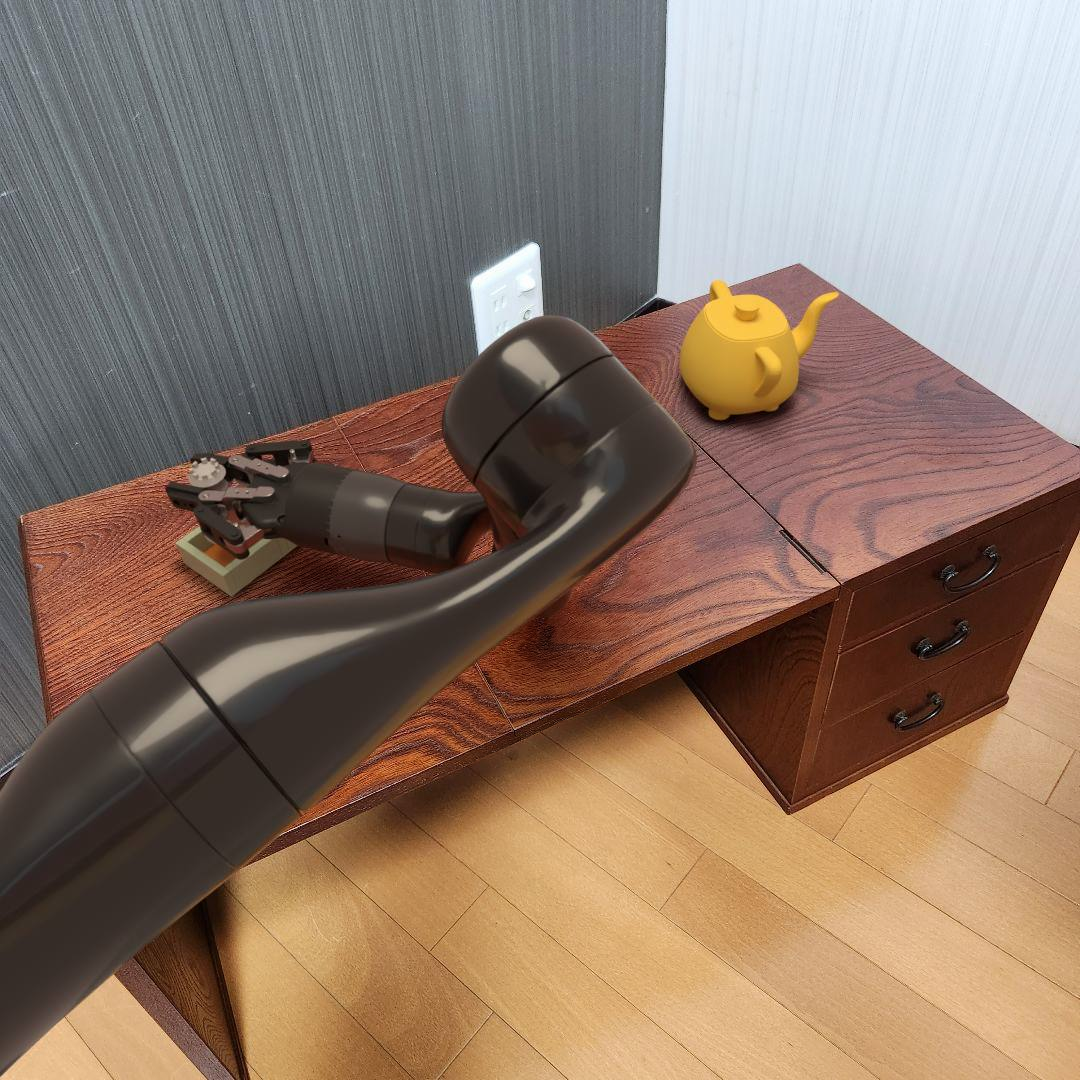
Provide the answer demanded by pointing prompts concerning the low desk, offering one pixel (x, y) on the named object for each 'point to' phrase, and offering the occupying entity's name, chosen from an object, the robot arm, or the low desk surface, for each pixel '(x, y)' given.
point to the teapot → (745, 352)
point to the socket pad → (230, 560)
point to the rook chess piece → (209, 478)
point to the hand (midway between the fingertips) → (182, 478)
